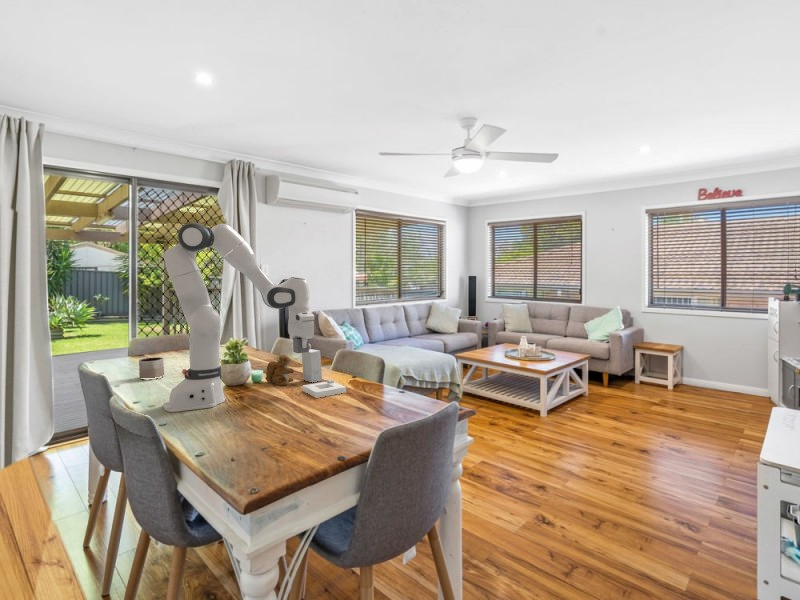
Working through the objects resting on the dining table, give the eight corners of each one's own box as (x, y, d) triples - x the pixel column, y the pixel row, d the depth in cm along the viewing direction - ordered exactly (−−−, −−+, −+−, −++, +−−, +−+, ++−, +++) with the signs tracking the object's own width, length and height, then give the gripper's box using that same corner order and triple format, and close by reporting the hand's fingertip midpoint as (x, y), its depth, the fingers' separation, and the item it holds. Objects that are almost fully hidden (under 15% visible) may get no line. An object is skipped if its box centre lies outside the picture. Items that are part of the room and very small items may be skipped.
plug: (297, 353, 188) (297, 334, 188) (293, 351, 192) (292, 333, 192) (308, 351, 191) (308, 333, 191) (304, 350, 195) (303, 332, 195)
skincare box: (322, 381, 212) (321, 350, 211) (311, 383, 208) (310, 352, 207) (312, 378, 218) (312, 348, 217) (302, 380, 214) (301, 349, 213)
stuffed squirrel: (287, 386, 204) (286, 357, 203) (259, 384, 207) (259, 356, 207) (297, 380, 214) (296, 353, 213) (270, 379, 217) (269, 352, 216)
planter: (134, 380, 219) (133, 360, 219) (152, 375, 230) (151, 356, 229) (151, 381, 216) (150, 361, 215) (169, 376, 226) (168, 357, 226)
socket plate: (316, 398, 183) (316, 390, 183) (302, 391, 195) (302, 383, 195) (346, 392, 191) (346, 385, 191) (331, 386, 203) (331, 379, 203)
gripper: (283, 314, 197) (285, 344, 198) (301, 317, 181) (303, 351, 182) (297, 312, 201) (298, 343, 202) (316, 316, 184) (317, 349, 185)
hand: (301, 346), depth 192 cm, fingers closed on plug, 5 cm apart
